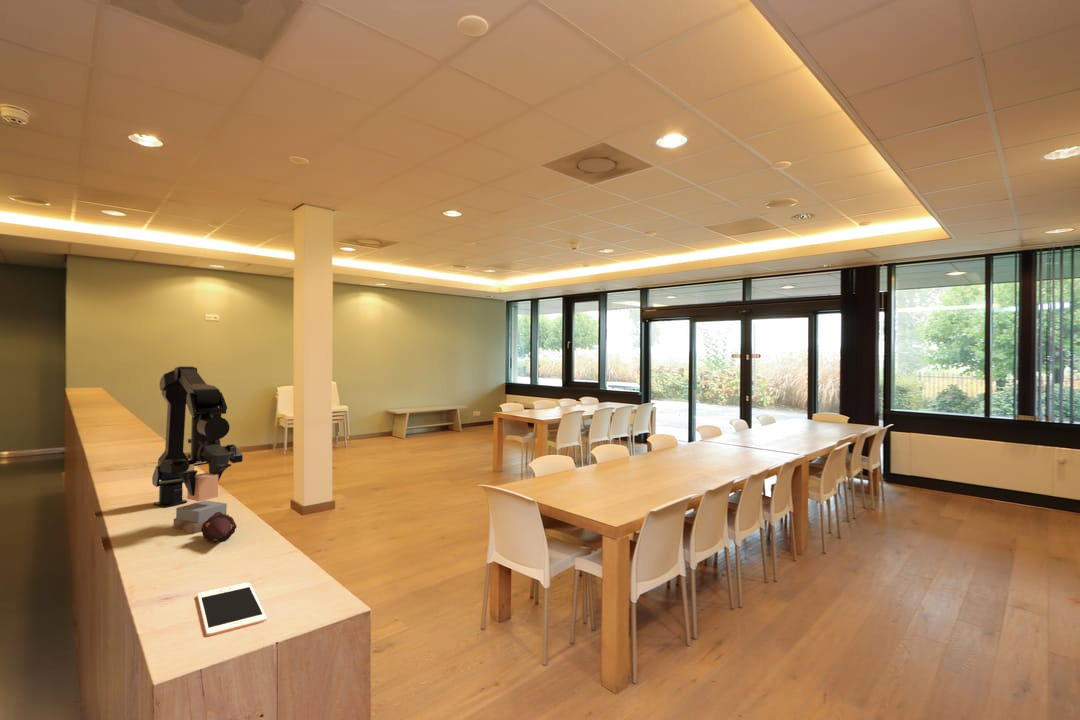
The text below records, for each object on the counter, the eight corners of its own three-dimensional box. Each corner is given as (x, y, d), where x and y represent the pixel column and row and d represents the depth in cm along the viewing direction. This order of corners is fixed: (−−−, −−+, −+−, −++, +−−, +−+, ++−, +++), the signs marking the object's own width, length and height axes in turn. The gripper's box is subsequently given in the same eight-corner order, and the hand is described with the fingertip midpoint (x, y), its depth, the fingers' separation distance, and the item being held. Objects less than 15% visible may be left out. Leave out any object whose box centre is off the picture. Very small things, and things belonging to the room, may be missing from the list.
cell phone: (249, 586, 103) (249, 581, 103) (267, 623, 89) (267, 618, 89) (196, 597, 98) (197, 592, 98) (206, 639, 84) (206, 633, 84)
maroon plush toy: (244, 519, 124) (235, 510, 135) (209, 516, 119) (203, 507, 131) (235, 549, 122) (227, 537, 134) (199, 548, 118) (194, 535, 130)
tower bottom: (173, 530, 135) (173, 518, 135) (208, 520, 144) (208, 510, 144) (194, 535, 132) (194, 524, 132) (228, 525, 140) (228, 514, 140)
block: (187, 498, 137) (187, 476, 137) (206, 494, 141) (206, 472, 141) (198, 501, 134) (199, 478, 134) (217, 496, 139) (218, 474, 139)
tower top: (176, 519, 135) (176, 508, 135) (204, 511, 143) (205, 500, 143) (198, 523, 133) (198, 511, 132) (226, 514, 140) (226, 503, 140)
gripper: (185, 442, 126) (184, 506, 126) (256, 433, 143) (255, 489, 143) (159, 438, 131) (157, 500, 131) (230, 430, 148) (229, 484, 148)
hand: (202, 493), depth 138 cm, fingers closed on block, 5 cm apart
